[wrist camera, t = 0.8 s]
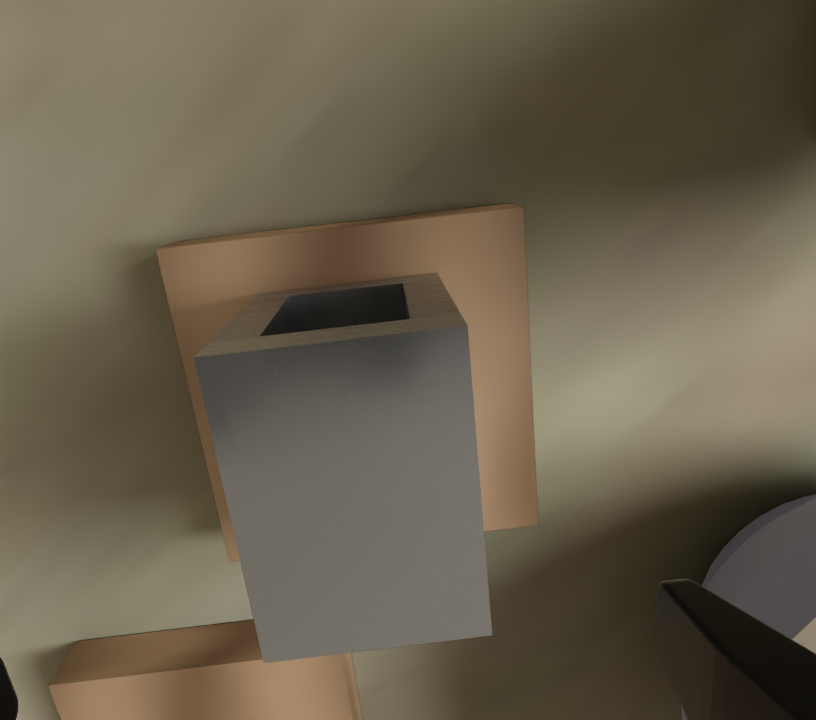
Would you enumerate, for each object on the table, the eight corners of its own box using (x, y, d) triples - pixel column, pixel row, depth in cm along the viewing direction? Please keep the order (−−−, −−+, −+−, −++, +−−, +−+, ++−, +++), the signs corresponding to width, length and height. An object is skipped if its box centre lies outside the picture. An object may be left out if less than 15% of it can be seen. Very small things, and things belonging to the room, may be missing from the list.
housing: (437, 272, 16) (467, 325, 11) (457, 493, 19) (492, 635, 13) (258, 293, 16) (193, 357, 11) (299, 512, 19) (263, 663, 13)
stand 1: (508, 203, 18) (523, 207, 16) (524, 492, 21) (538, 524, 19) (179, 241, 18) (155, 249, 16) (243, 526, 21) (229, 561, 19)
